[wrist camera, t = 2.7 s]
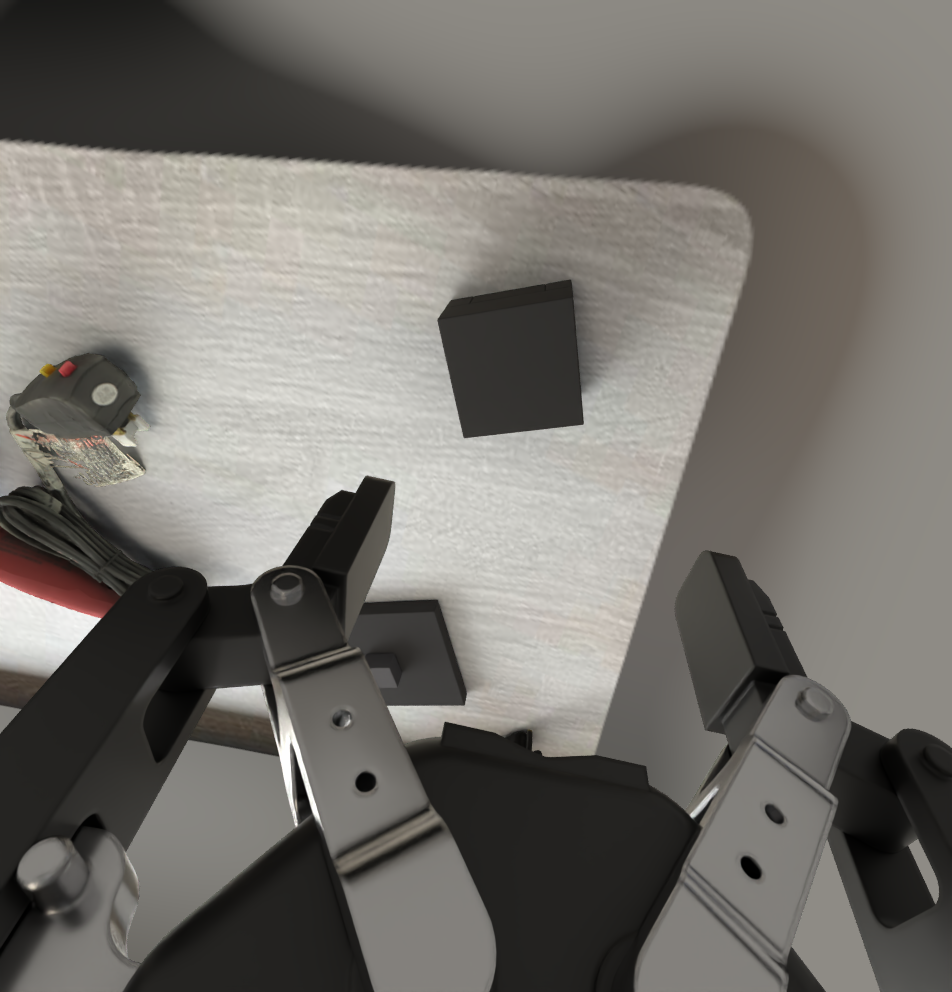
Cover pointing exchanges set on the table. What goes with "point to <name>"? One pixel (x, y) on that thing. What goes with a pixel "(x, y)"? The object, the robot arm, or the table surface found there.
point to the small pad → (514, 360)
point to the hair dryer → (49, 511)
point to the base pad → (409, 653)
